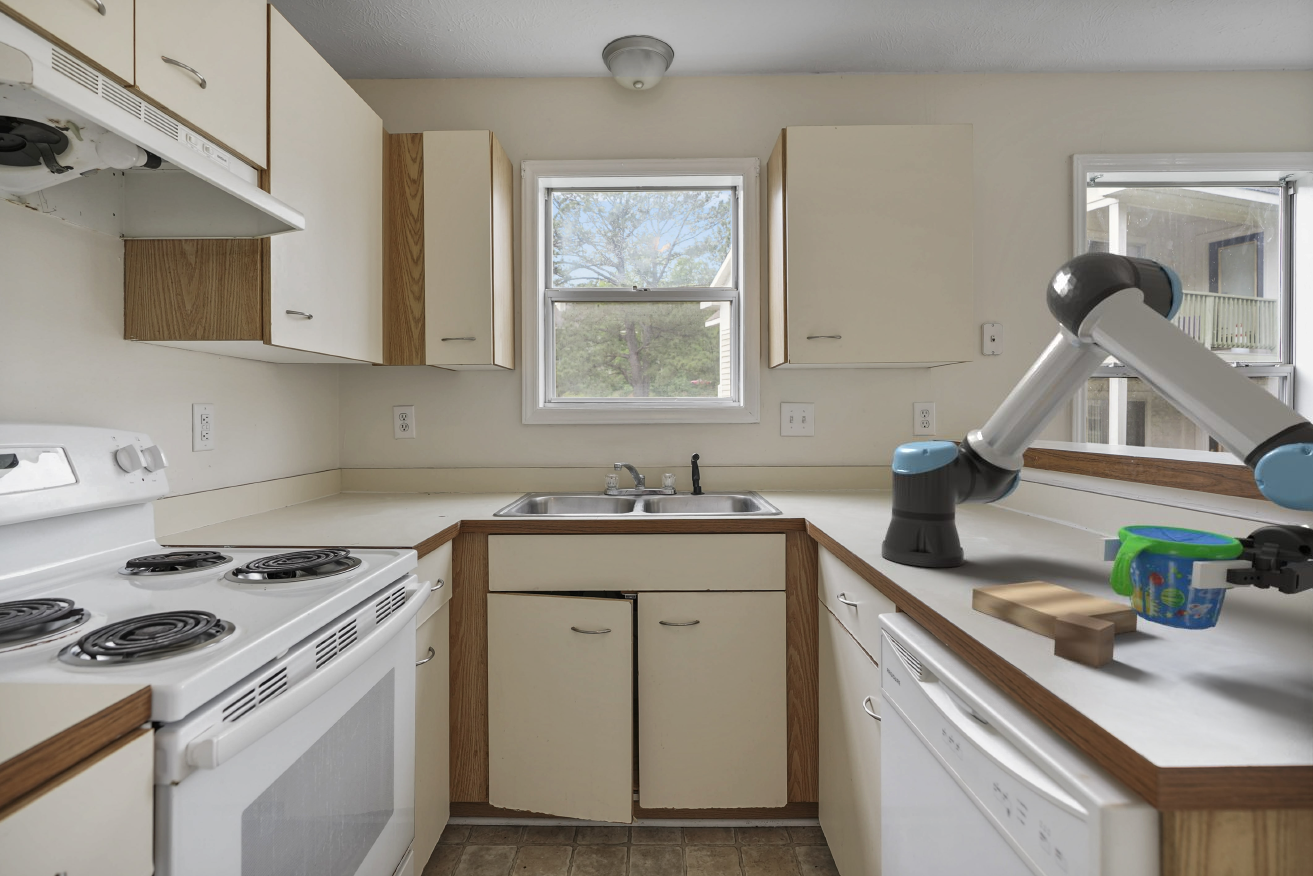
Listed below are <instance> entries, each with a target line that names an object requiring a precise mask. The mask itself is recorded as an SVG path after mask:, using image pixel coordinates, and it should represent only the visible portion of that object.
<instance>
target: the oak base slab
mask: <svg viewBox="0 0 1313 876" xmlns="http://www.w3.org/2000/svg"><path fill="white" fill-rule="evenodd" d="M971 601H972V602H971V605H972V606H971V608H973V609H972V610H975V611H979V612H980V611H981V613H984V614H986V615H988V614H989V616H992V617H994V618H996V617H997V619H999V618H1000V619H999V620H1002V621H1005V622H1007V621H1008V622H1007V623H1010V624H1013V625H1016V626H1018V627H1020V626H1021V628H1024V629H1026V630H1029V631H1032V632H1034V633H1036V632H1037V634H1038V635H1039V634H1040V635H1042V636H1045V637H1047V638H1049V639H1052V640H1055V623H1056V618H1059V617H1061V616H1064V615H1066V614H1069V613H1071V612H1073V613H1077V614H1081V615H1085V616H1089V617H1093V618H1097V619H1101V620H1105V621H1109V622H1113V623H1115V627H1114V635H1117V634H1123V633H1128V632H1134V631H1137V630H1138V629H1137V627H1138V615H1137V614H1136V613H1135V612H1134V611H1132V607H1131V605H1130V606H1129V605H1128V604H1127V605H1126V604H1123V603H1120V602H1118V601H1117V602H1115V601H1112V600H1109V599H1105V598H1102V597H1099V596H1095V595H1092V594H1088V593H1084V592H1082V591H1078V590H1074V589H1071V588H1067V587H1064V586H1061V585H1057V584H1054V583H1050V582H1047V581H1043V580H1036V581H1028V582H1020V583H1018V582H1017V583H1009V584H999V585H992V586H983V587H975V588H972V600H971Z"/></svg>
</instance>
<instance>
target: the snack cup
mask: <svg viewBox="0 0 1313 876" xmlns="http://www.w3.org/2000/svg"><path fill="white" fill-rule="evenodd" d="M1117 535H1118V536H1117V537H1118V538H1119V539H1120V541H1121V544H1122V546H1121V547H1120V549H1119V551H1118V554H1117V557H1116V559H1115V561H1114V564H1113V566H1112V570H1111V574H1110V578H1109V579H1110V580H1109V584H1110V587H1111V589H1112V590H1113V592H1114V593H1116V594H1117V595H1120V596H1123V597H1129V600H1130V607H1132V611H1134V612H1135V613H1136V614H1137V617H1140V618H1142V619H1144V620H1145V621H1147V622H1152V623H1154V624H1160V625H1162V626H1166V627H1171V628H1175V629H1182V630H1191V631H1192V630H1194V631H1195V630H1197V631H1198V630H1199V631H1200V630H1201V631H1202V630H1207V629H1210V628H1215V627H1216V625H1217V623H1218V621H1219V618H1220V615H1221V611H1222V607H1223V605H1224V600H1225V597H1226V592H1227V590H1233V589H1235V588H1236V587H1234V588H1210V589H1198V588H1194V587H1192V575H1193V562H1197V561H1228V560H1236V559H1237V557H1238V556H1239V555H1240V554H1241V553H1242V551H1243V546H1242V545H1241V543H1240V541H1238V540H1237V539H1235V538H1236V537H1231V536H1229V535H1224V534H1221V533H1217V532H1211V531H1205V530H1200V529H1199V530H1198V529H1193V528H1184V527H1176V526H1164V525H1150V524H1149V525H1147V524H1146V525H1145V524H1139V525H1138V524H1136V525H1126V526H1122V527H1120V529H1119V530H1118V531H1117Z"/></svg>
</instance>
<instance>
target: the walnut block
mask: <svg viewBox="0 0 1313 876" xmlns="http://www.w3.org/2000/svg"><path fill="white" fill-rule="evenodd" d="M1114 627H1115V623H1113V622H1109V621H1105V620H1101V619H1097V618H1093V617H1089V616H1085V615H1081V614H1077V613H1073V612H1071V613H1069V614H1066V615H1064V616H1061V617H1059V618H1056V623H1055V639H1054V648H1053V649H1054V650H1053V655H1054V656H1057V657H1060V658H1064V659H1068V660H1069V661H1073V662H1077V663H1079V664H1080V663H1081V664H1082V665H1086V666H1089V667H1092V666H1093V667H1092V668H1095V669H1096V668H1097V669H1098V668H1100V667H1101V666H1103V665H1106V664H1107V663H1109V662H1111V661H1113V660H1114V648H1115V646H1114V644H1115V634H1114Z"/></svg>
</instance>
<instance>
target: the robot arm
mask: <svg viewBox="0 0 1313 876" xmlns="http://www.w3.org/2000/svg"><path fill="white" fill-rule="evenodd" d="M1045 296H1046V297H1045V299H1046V305H1047V307H1048V310H1049V311H1050V314H1051V316H1053V318H1054V319H1055V320H1056V321H1057V323H1058V324H1059V332H1058V333H1057V334H1056V336H1055V337H1054V338H1053V339H1052V340H1051V342H1050V343H1049V344H1048V345H1047V347H1046V348H1045V349H1044V350H1043V352H1041V354H1040V356H1039V357H1037V359H1036V360H1035V362H1034V363H1033V364H1032V366H1031V367H1030V368H1029V369H1028V370H1027V372H1026V373H1025V374H1024V376H1023V377H1022V378H1021V380H1019V382H1018V383H1017V385H1016V386H1015V387H1014V388H1013V389H1012V391H1011V392H1010V393H1009V395H1008V396H1007V397H1006V399H1004V400H1003V402H1002V403H1001V405H1000V406H999V407H998V408H997V410H995V412H994V413H993V415H992V416H991V417H990V419H989V420H987V421H986V423H985V424H984V426H983V427H982V428H981V429H972V430H970V431H969V432H968V433H967V435H966V436H965V437H964V438H963V440H961V442H960V444H959V445H957V444H956V443H955V442H952V441H948V440H947V441H945V440H931V441H915V442H909V443H905V444H901V445H900V446H898V447H897V448H896V449H895V450H894V453H893V462H892V465H891V469H892V484H891V485H892V491H891V495H892V496H891V498H892V499H891V519H890V522H889V524H888V527H887V530H886V534H885V537H884V540H883V541H882V543H881V556H882V557H883V558H884V559H887V560H890V561H892V562H895V563H899V564H904V565H909V566H918V567H926V568H953V567H959V566H962V565H963V564H964V561H965V560H964V559H965V551H964V548H963V547H962V546H961V542H960V535H959V533H958V529H957V526H956V508H957V507H956V506H957V505H974V504H976V505H977V504H979V505H981V504H984V505H985V504H991V503H996V502H999V501H1002V500H1004V499H1006V498H1007V497H1009V496H1011V495H1012V494H1013V493H1014V492H1015V491H1016V489H1017V488H1018V485H1020V481H1021V477H1020V473H1021V471H1022V468H1023V467H1024V465H1025V460H1024V457H1023V456H1024V455H1023V454H1024V453H1025V452H1026V451H1027V450H1028V449H1029V448H1030V446H1031V445H1032V444H1033V443H1034V442H1035V441H1036V439H1038V437H1039V436H1040V435H1041V433H1042V432H1043V431H1044V430H1045V429H1046V428H1047V427H1048V426H1049V425H1050V423H1051V422H1052V421H1054V419H1055V418H1056V416H1057V415H1058V414H1059V413H1060V412H1061V411H1062V410H1063V409H1064V408H1065V406H1066V405H1067V404H1068V403H1069V402H1070V401H1071V400H1072V399H1073V398H1074V396H1075V395H1076V394H1077V393H1078V391H1079V390H1080V389H1081V388H1082V387H1083V386H1084V385H1085V384H1086V383H1087V382H1088V380H1089V379H1090V378H1091V377H1092V376H1093V375H1094V373H1096V372H1097V370H1098V369H1099V368H1100V366H1101V365H1102V364H1103V363H1104V362H1105V361H1106V360H1107V359H1108V358H1109V357H1111V356H1112V358H1113V359H1115V360H1116V361H1118V362H1119V363H1120V364H1121V365H1123V366H1124V367H1125V368H1126V369H1127V370H1129V371H1130V372H1131V373H1133V375H1134V376H1136V377H1137V378H1138V379H1139V380H1141V381H1142V382H1143V383H1144V384H1146V385H1147V386H1148V387H1149V388H1150V389H1152V390H1153V391H1154V392H1156V394H1158V395H1159V396H1160V397H1162V399H1164V400H1166V401H1167V402H1168V403H1169V404H1170V405H1172V406H1173V407H1174V408H1175V409H1177V410H1178V412H1180V413H1181V414H1183V415H1184V416H1185V417H1186V418H1188V419H1189V420H1190V421H1191V422H1193V424H1195V425H1196V426H1197V427H1199V428H1200V429H1201V430H1202V431H1204V432H1205V433H1206V434H1208V435H1209V436H1210V437H1211V438H1212V439H1213V440H1214V441H1216V442H1217V443H1218V444H1220V445H1221V446H1222V447H1223V448H1224V449H1226V450H1227V451H1228V452H1230V454H1231V455H1233V456H1234V457H1235V458H1237V459H1238V460H1239V461H1240V462H1241V463H1242V464H1244V465H1245V466H1247V467H1248V468H1249V469H1250V470H1251V471H1252V472H1254V480H1255V483H1256V486H1257V488H1258V490H1259V492H1260V494H1262V495H1263V496H1264V497H1265V498H1266V499H1267V500H1269V501H1270V502H1272V503H1273V504H1275V505H1277V506H1279V507H1281V508H1282V507H1283V508H1285V509H1287V510H1293V511H1298V512H1299V511H1303V512H1313V423H1312V422H1311V421H1310V420H1309V419H1308V418H1306V417H1305V416H1303V415H1301V414H1300V413H1299V412H1298V411H1296V410H1295V409H1293V408H1292V407H1291V406H1289V405H1288V404H1287V403H1285V402H1284V401H1282V400H1280V399H1279V398H1277V396H1275V395H1274V394H1272V393H1271V392H1270V391H1268V390H1267V389H1265V388H1264V387H1262V386H1261V385H1260V384H1258V383H1257V382H1255V381H1254V380H1252V379H1251V378H1250V377H1248V376H1247V375H1246V374H1244V373H1243V372H1242V371H1240V370H1238V369H1237V368H1236V367H1235V366H1233V365H1232V364H1230V363H1229V362H1227V361H1226V360H1225V359H1223V358H1221V356H1219V355H1218V354H1216V353H1214V352H1213V351H1212V350H1210V349H1209V348H1208V347H1206V346H1205V345H1203V344H1202V343H1201V342H1199V341H1198V340H1197V339H1195V338H1194V337H1192V336H1191V335H1190V334H1188V333H1187V332H1186V331H1184V330H1182V329H1181V328H1179V326H1177V325H1176V324H1174V323H1173V322H1172V320H1173V319H1174V318H1175V316H1176V315H1177V314H1178V312H1179V310H1180V309H1181V306H1182V302H1183V298H1184V297H1183V296H1184V292H1183V284H1182V281H1181V279H1180V276H1179V275H1178V274H1177V273H1176V271H1175V270H1173V269H1172V268H1171V267H1169V266H1167V265H1166V264H1164V263H1160V262H1158V261H1155V260H1153V259H1150V258H1146V257H1134V256H1127V255H1121V254H1116V253H1112V252H1106V251H1105V252H1104V251H1091V252H1086V253H1083V254H1079V255H1077V256H1075V257H1073V258H1071V259H1068V260H1067V261H1066V262H1065V263H1063V264H1062V265H1060V267H1059V268H1058V269H1056V271H1055V272H1054V273H1053V275H1052V276H1051V278H1050V280H1049V282H1048V283H1047V288H1046V295H1045ZM1234 538H1235V539H1237V540H1238V541H1240V543H1241V545H1242V546H1243V551H1242V553H1241V554H1240V555H1239V556H1238V557H1237V559H1236V560H1228V561H1197V562H1193V575H1192V587H1194V588H1198V589H1210V588H1233V589H1235V588H1250V587H1251V586H1253V587H1255V588H1258V589H1261V590H1265V589H1266V590H1268V589H1270V588H1275V589H1278V592H1280V593H1282V594H1284V595H1295V594H1299V593H1302V592H1305V591H1309V590H1311V589H1312V590H1313V523H1311V524H1310V523H1309V524H1308V523H1307V524H1302V523H1301V524H1284V525H1283V524H1282V525H1277V524H1276V525H1275V524H1274V525H1265V526H1262V527H1259V528H1257V529H1255V530H1254V531H1252V532H1251V533H1250V534H1248V535H1247V536H1246V537H1234ZM1098 545H1099V547H1098V561H1103V562H1115V559H1116V557H1117V554H1118V551H1119V549H1120V547H1121V546H1122V544H1121V541H1120V539H1119V537H1099V544H1098ZM1234 587H1235V588H1234Z"/></svg>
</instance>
